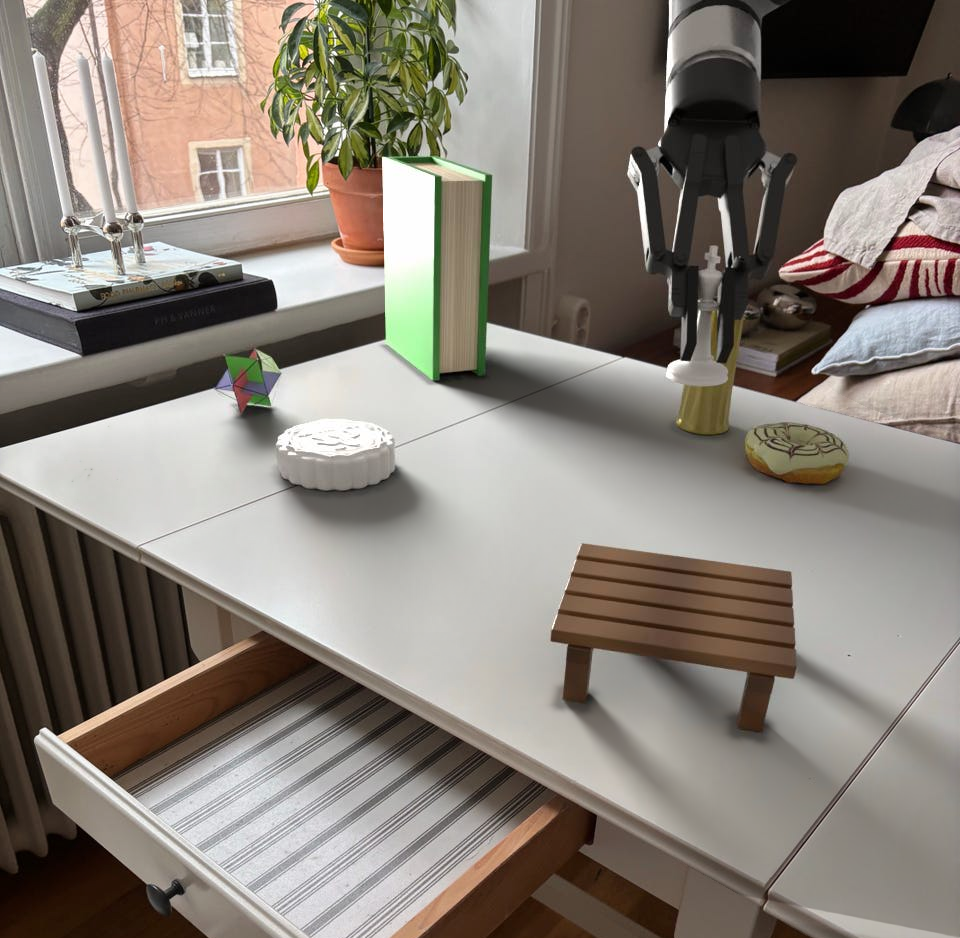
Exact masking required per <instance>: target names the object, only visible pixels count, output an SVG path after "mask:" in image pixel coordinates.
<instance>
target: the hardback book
mask: <svg viewBox="0 0 960 938" xmlns="http://www.w3.org/2000/svg"><path fill="white" fill-rule="evenodd" d="M382 194H383V195H382V197H383V198H382V199H383V246H384V247H383V251H384V252H383V253H384V254H383V255H384V257H383V258H384V306H385V307H384V308H385V309H384V311H385V315H384V316H385V344H386V345H387V346H388V347H390V348H391V349H392V350H393V351H394V352H396V353H397V354H398V355H400V356H401V357H402V358H403V359H404V360H406V361H407V362H408V363H410V364H411V365H412V366H413V367H414V368H416V369H417V370H418V371H420V373H422V374H423V375H424V376H426V377H427V378H428V379H430V380H431V381H435V382H436V381H440V374H445V373H447V374H448V373H453V372H454V373H455V372H456V373H457V372H463V371H471V372H473V373H474V374H475V375H476V376H478V377H480V376H485V375H486V356H487V329H488V305H489V302H488V301H489V278H490V277H489V274H490V252H491V251H490V250H491V249H490V248H491V247H490V246H491V223H492V196H493V174H491V173H488V172H486V171H482V170H479V169H476V168H473V167H470V166H467V165H464V164H461V163H458V162H456V161H453V160H449V159H446V158H443V157H441V156H438V155H417V156H416V155H414V156H413V155H411V156H410V155H409V156H382Z"/></svg>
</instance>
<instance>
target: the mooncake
mask: <svg viewBox="0 0 960 938" xmlns="http://www.w3.org/2000/svg"><path fill="white" fill-rule="evenodd" d="M395 442H396V440H395V438H394V436H392V435H391V433H390V431H388V429H387V430H386V429H384V428H383V427H380V426H379V425H376V424H374V423H373V422H365V421H354V420H349V419H346V418H335V419H334V418H333V419H330V418H322V419H319V420H317V421H316V420H315V421H312V422H309V423H303V424H298V425H293V427H292V428H288V429H286V430H284V433H283V434H281V435H279V436H278V437H277V442H276V443H275V450H276V462H277V470H278V472H280V476H281V478H282V479H285V480H288V481H289V482H290V483H291V484H292V485H296V486H302V487H303V488H305V489H310V490H311V489H312V490H313V489H318V490H319V491H322V492H323V491H324V492H327V491H328V492H329V491H339V492H340V491H341V492H343V491H344V492H345V491H349V490H350V489H351V490H352V489H354V490H360V489H364V488H366V487H367V486H375V485H378V484H379V483H380V482H381V481H383V480H387V479H389V477H390V476H391V474H393V473H394V472H395V470H396V445H395V444H396V443H395Z"/></svg>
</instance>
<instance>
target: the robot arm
mask: <svg viewBox="0 0 960 938" xmlns="http://www.w3.org/2000/svg"><path fill="white" fill-rule="evenodd" d="M788 2H791V0H668V35H667V57H666V58H667V60H666V79H665V81H666V82H665V90H666V92H665V101H664V124H663V125H664V130H663V134H662V135H661V136H660V139H659V141H658V145H656V146H654V147H652V148H649V149H645V147H642V146H639V145H638V146H635V147H633V148H632V149H631V151H630V157H629V161H628V162H629V163H628V167H627V168H628V169H627V177H628V179H629V181H630V183H631V184H632V186H633V188H634V190H635V192H636V194H637V202H638V212H639V221H640V229H641V236H642V246H643V255H644V264H645V270H646V272H647V273H648V274H649V275H653V276H656V275H658V274H660V275H662V276H664V277H665V278H667V279H666V283H667V286H668V303H667V304H668V305H667V307H668V309H667V311H668V313H669V316H670V317H676V318H681V326H680V327H681V328H680V329H681V330H680V333H681V335H680V359H681V360H680V359H679V360H680V361H689V362H690V361H691V358H692V355H693V352H694V350H695V347H696V344H697V313H698V300H699V285H698V274H699V271H700V270H699V268H700V267H699V265H689V261H690V257H691V251H692V250H691V249H692V245H693V244H692V242H693V236H694V229H695V223H696V215H697V208H698V201H699V198H700V197H705V196H711V197H714V198H717V205H718V211H719V212H720V218H721V228H722V240H723V247H724V248H723V249H724V258H725V267H724V269H723V271H722V273H723V279H722V281H721V283H720V285H719V287H718V290H717V296H718V303H719V309H718V310H717V354H716V363H726V362H727V360H728V358H729V356H730V353H731V351H732V349H733V346H734V320H741V319H742V317H743V315H744V316H745V314H744V313H746V310H747V308H748V306H749V281H750V280H753V279H754V280H756V281H761V280H763V279H764V278H765V277H766V275H767V273H768V271H769V269H770V266H771V264H772V261H773V259H774V257H775V250H776V244H777V239H778V232H779V226H780V221H781V214H782V208H783V202H784V196H785V190H786V187H788V184H789V182H790V180H791V177H792V175H793V173H794V170H795V168H796V166H797V163H798V157H797V155H796V154H794V153H792V152H787V153H784V154H783V155H782V157H781V156H778V155H777V154H775V153H773V152H771V151H769V150H767V149H768V147H767V142H766V140H765V138H764V137H763V135H762V132H761V104H762V103H761V101H762V100H761V98H762V97H761V95H762V94H761V92H762V86H761V80H762V76H761V75H762V22H763V18H764V16H766V15H767V14H769V13H771V12H772V11H774V10H776V9H778V8H780V7H781V6H783V5H785V4H787V3H788ZM660 165H661V166H662V168H663V169H664V170H665V171H666V173H667V174H668V175H669V177H670V178H671V179H672V181H674V183H675V184H676V186H677V187H678V188H679V189H680V195H679V200H678V201H679V202H678V207H677V208H678V211H677V216H676V224H675V231H674V237H673V244H672V251H671V250H669V249H667V247H666V239H665V231H664V230H665V229H664V222H663V215H662V214H663V213H662V207H661V206H662V205H661V198H660V188H659V180H658V176H659V172H660V168H661V166H660ZM758 169H759V170H761V179H760V180H761V183H762V186H763V188H765V192H764V195H763V196H762V197H763V198H762V202H761V207H760V214H759V220H758V226H757V231H756V237H755V243H754V248H753V254H750V249H749V247H750V246H749V238H748V237H749V236H748V229H747V228H748V227H747V218H746V209H745V200H744V199H745V198H744V184H745V183H746V182H747V181H749V179H750V178H751V177H752V176H753V174H755V172H756V171H757V170H758Z"/></svg>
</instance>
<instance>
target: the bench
mask: <svg viewBox="0 0 960 938" xmlns="http://www.w3.org/2000/svg"><path fill="white" fill-rule="evenodd" d="M792 575H793V574H792V571H790V570H783V569H775V568H768V567H761V566H754V565H747V564H738V563H731V562H723V561H716V560H708V559H701V558H696V557H695V558H693V557H687V556H680V555H679V556H678V555H671V554H665V553H659V552H650V551H643V550H636V549H628V548H622V547H613V546H606V545H599V544H590V543H584V542H582V543H580V546H579V548H578V551H577V554H576V558H575V560H574V563H573V566H572V568H571V572H570V576H569V578H568V580H567V582H566V583H567V584H566V585H565V589H564V594H563V595H562V597H561V600H560V603H559V606H558V609H557V614H556V616H555V618H554V621H553V624H552V626H551V631H550V642H551V643H557V644H564V645H567V647H566V657H565V669H564V680H563V691H562V700H563V701H570V702H575V703H580V704H581V703H582V704H586V700H587V698H588V694H589V687H590V679H591V671H592V670H591V669H592V662H593V653H594V649H595V650H596V649H597V650H602V651H609V652H616V653H622V654H629V655H635V656H641V657H647V658H648V657H649V658H654V659H660V660H668V661H672V662H673V661H675V662H680V663H687V664H693V665H701V666H707V667H711V668H712V667H713V668H720V669H724V670H732V671H739V672H745V673H746V677H745V683H744V687H743V692H742V695H741V702H740V706H739V710H738V715H737V718H738V719H737V728H738V729H739V730H746V731H752V732H758V733H763V729H764V726H765V722H766V717H767V713H768V709H769V704H770V700H771V695H772V693H773V689H774V684H775V681H776V677H777V678H783V679H791V680H794V679H795V677H796V673H797V668H798V666H797V665H798V664H797V650H796V645H797V644H796V629H795V627H794V626H795V611H794V608H793V606H794V595H793V593H794V592H793V589H792V587H793V578H792Z"/></svg>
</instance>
